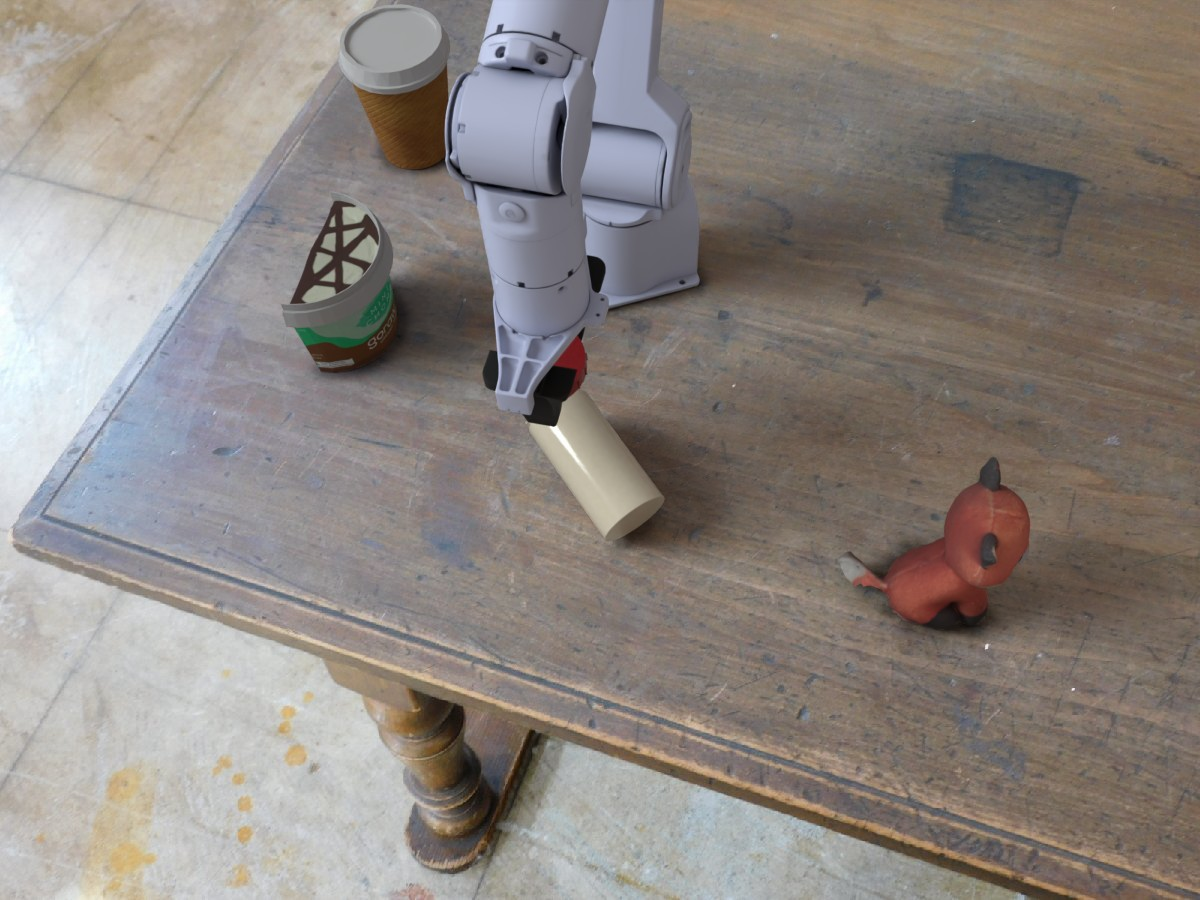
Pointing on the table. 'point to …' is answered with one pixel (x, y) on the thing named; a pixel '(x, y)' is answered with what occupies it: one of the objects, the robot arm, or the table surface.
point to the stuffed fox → (956, 558)
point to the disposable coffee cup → (400, 80)
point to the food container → (346, 290)
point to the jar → (598, 468)
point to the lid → (575, 362)
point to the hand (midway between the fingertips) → (554, 381)
